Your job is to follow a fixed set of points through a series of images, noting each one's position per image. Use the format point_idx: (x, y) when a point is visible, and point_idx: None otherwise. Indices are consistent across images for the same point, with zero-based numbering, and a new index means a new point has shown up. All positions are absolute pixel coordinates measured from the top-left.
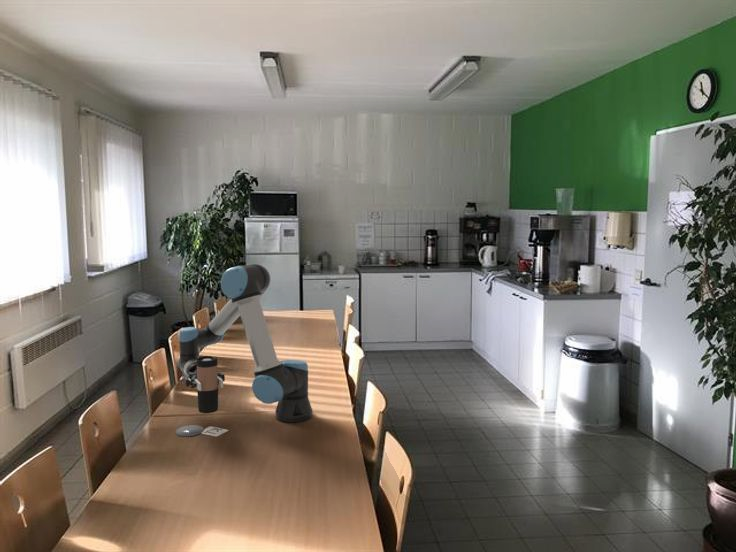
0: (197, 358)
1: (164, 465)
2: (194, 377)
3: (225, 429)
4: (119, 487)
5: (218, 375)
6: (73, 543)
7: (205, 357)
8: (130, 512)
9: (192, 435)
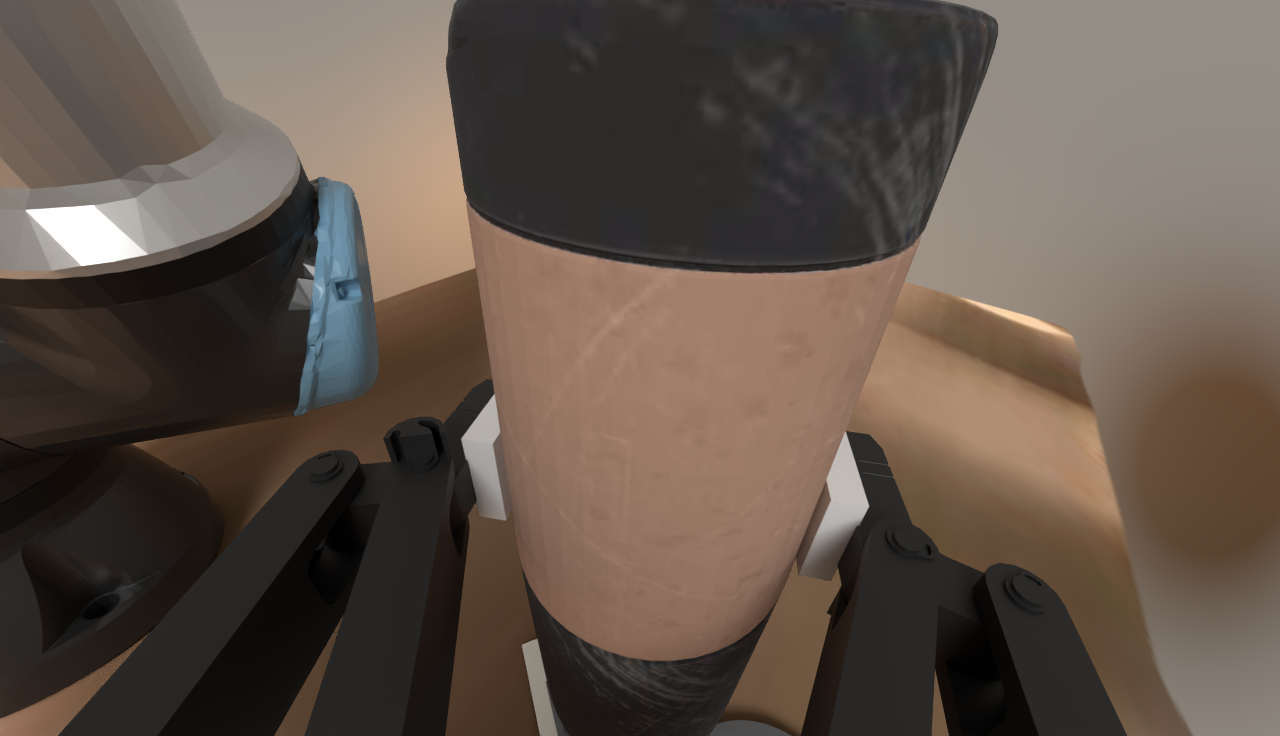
0: (992, 17)
1: (917, 473)
2: (866, 668)
3: (528, 673)
4: (1047, 430)
5: (443, 437)
6: (1049, 324)
7: (644, 36)
8: (966, 341)
9: (762, 725)
